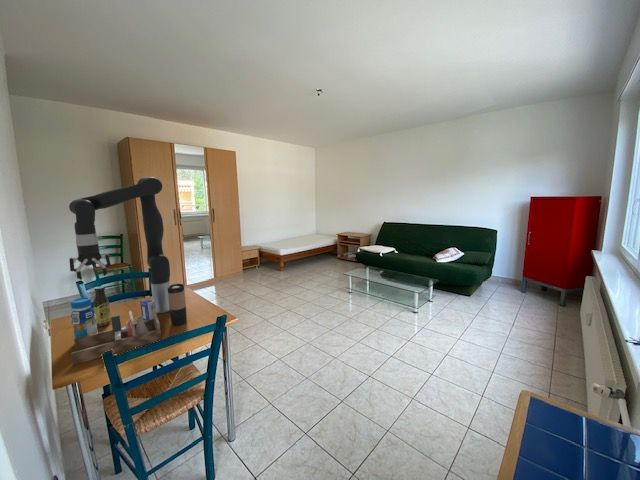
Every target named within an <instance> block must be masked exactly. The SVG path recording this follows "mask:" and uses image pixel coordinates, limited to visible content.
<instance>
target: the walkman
mask: <svg viewBox="0 0 640 480" xmlns="http://www.w3.org/2000/svg"><path fill="white" fill-rule="evenodd" d="M139 303H140V311H141V316H143V317H144V318H143V321H147V320H151V319H154V316H153V314H155V313H156V307H155V301H153V300H151V299H145V298H144V299H143V300H139ZM156 315H158V313H156Z"/></svg>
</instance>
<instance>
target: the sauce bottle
mask: <svg viewBox="0 0 640 480" xmlns="http://www.w3.org/2000/svg"><path fill="white" fill-rule="evenodd" d="M105 291H106V288H105V286H104V285H103V286H102V285H101V286H96V287H94V293H95V297H94V299H93V302H92V304H93V309H94V311H95V313H94V314H95V315H96V325H97V327H104V326H105V327H106V326H108V325H110V324H112V322H111V315H112V314H111V308H110V301H109V299H108V297H107V296H106V292H105Z"/></svg>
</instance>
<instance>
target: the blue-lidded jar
mask: <svg viewBox="0 0 640 480" xmlns="http://www.w3.org/2000/svg"><path fill="white" fill-rule="evenodd" d="M70 307H71V309H72V312H71V314H70V318H71V320H70V322H71V325H72V328H73V329H72V330H73V334H74V339H75V338H79V337H83V336H87V335H91V334H95V333H99V331H98V326H97V325H96V315H95V314H94V313H95V311H94V307H92V299H91V297H89V296H88V297H87V296H86V297H84V296H83V297H78V298H75V299H72V301H71V300H70Z"/></svg>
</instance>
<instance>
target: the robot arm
mask: <svg viewBox="0 0 640 480" xmlns="http://www.w3.org/2000/svg"><path fill="white" fill-rule="evenodd" d="M162 190H163V183H162V182H161V180H160V179H159V178H156V177H155V176H154V177H153V176H147V177H141V178H139V179H138V181H137V183H136V184H134V185H133V184H132V185H129V186H124V187H119V188H115V189H112V190H111V189H109V190H108V191H107V190H106V191H104V192H100V193H97V194H95V195H90V196H85V197H81V198H78V199H77V198H76V199H74V200H72V201H71V202H70V203H69V205H68V209H69V211H70V212H71V213H73V214H74V215H75V221H76V222H74V234H75V244H76V249H77V255H78V256H77V257H72V256H71V257H69V270H70V272H75V273H76V278H77V280H80V281H81V280H83V277H82V269H83V267H84V266H87V267H89V266H95V265H97V266H100V267H101V268H102V274H103V277H106V275H108V270H107V268H108V267H111V260H110V256H109V253H105V254H101V252H100V246H99V240H98V239H99V238H98V235H97V231H96V226H95V221H96V211H98V210H102V209H108V208H111V207H114V206H117V205H119V204H122V203H125V202H128V201H131V200H134V199H138V198H139V199H140V200H139V201H140V204H141V214H142V225H143V231H144V237H145V243H146V249H147V250H146V251H147V252H146V253H147V254H146V259H147V260H146V262H147V265H148V267H149V268H150V274H151V275H150V276H151V277H150V287H151V295H152V296H151V297H152V301H155V307H156V314H164V313H168V312H170V309H169V299H168V288H167V287H170V285H171V281H170V277H171V269H170V268H171V267H170V260H169V258H168V257H167V256H165V253H164V251H163V244H162V243H163V238H164V237H163V236H164V230H165V229H164V221H163V220H164V219H163V217H162V213H160V210H159V208H158V206H157V203H156V195H157V194H159V193H161V191H162ZM102 258H103V259H104V260H105V261H106V264H105V263H103V261H101V259H102ZM76 261H77V262H79V263H80V264H79V265H78V267H77V268H76V267H75V263H76Z"/></svg>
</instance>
